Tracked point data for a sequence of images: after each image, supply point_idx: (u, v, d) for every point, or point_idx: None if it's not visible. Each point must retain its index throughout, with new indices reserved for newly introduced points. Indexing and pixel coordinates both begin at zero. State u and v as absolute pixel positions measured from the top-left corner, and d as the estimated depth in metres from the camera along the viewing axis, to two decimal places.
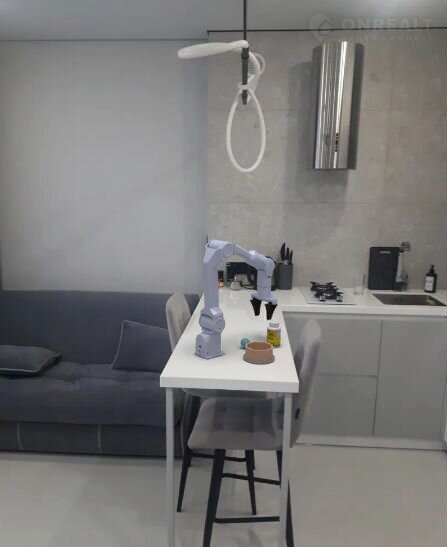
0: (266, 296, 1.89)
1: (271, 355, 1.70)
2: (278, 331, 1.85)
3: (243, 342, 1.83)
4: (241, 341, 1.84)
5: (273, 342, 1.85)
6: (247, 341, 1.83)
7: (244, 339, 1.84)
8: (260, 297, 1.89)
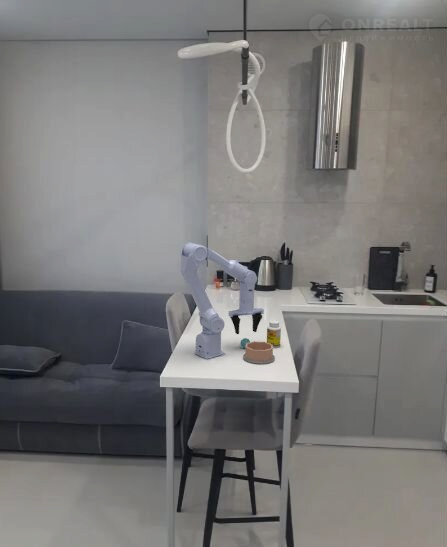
0: (239, 308, 1.82)
1: (271, 355, 1.70)
2: (278, 331, 1.85)
3: (243, 342, 1.83)
4: (241, 341, 1.84)
5: (273, 342, 1.85)
6: (247, 341, 1.83)
7: (244, 339, 1.84)
8: None
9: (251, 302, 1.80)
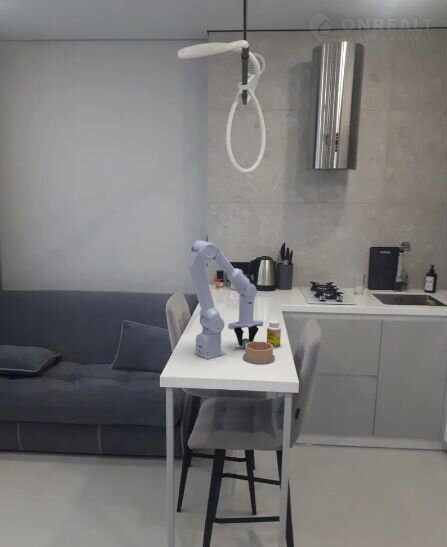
0: (239, 321, 1.83)
1: (271, 355, 1.70)
2: (278, 331, 1.85)
3: (243, 342, 1.83)
4: None
5: (273, 342, 1.85)
6: (247, 341, 1.83)
7: (244, 339, 1.84)
8: None
9: (251, 315, 1.81)
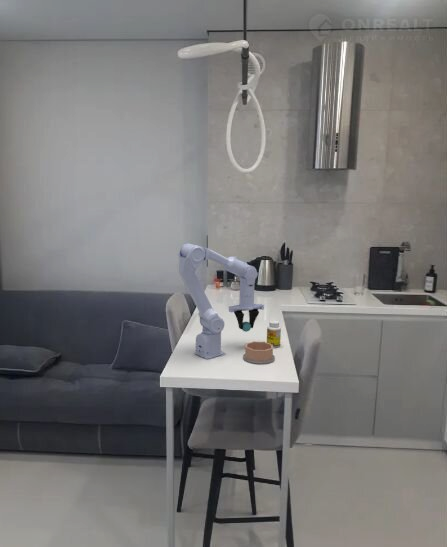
0: (239, 304, 1.82)
1: (271, 355, 1.70)
2: (278, 331, 1.85)
3: (244, 325, 1.82)
4: None
5: (273, 342, 1.85)
6: (248, 324, 1.82)
7: (245, 322, 1.82)
8: None
9: (251, 297, 1.79)
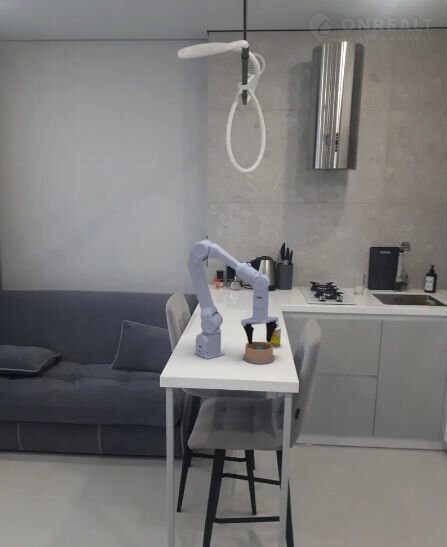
0: (252, 317, 1.71)
1: (271, 355, 1.70)
2: (278, 331, 1.85)
3: None
4: (254, 349, 1.72)
5: (273, 342, 1.85)
6: (261, 349, 1.72)
7: (258, 347, 1.72)
8: None
9: (265, 310, 1.68)
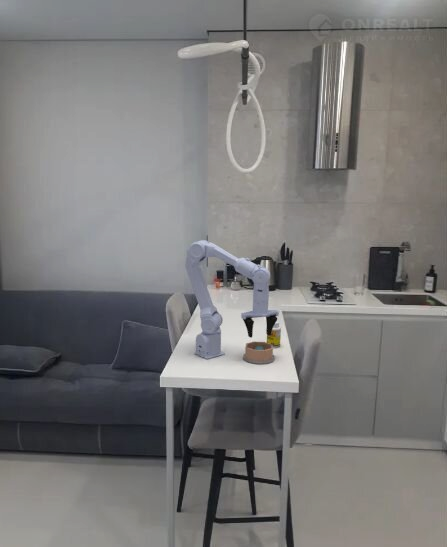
0: None
1: (271, 355, 1.70)
2: (278, 331, 1.85)
3: None
4: (254, 349, 1.72)
5: (273, 342, 1.85)
6: (261, 349, 1.72)
7: (257, 347, 1.72)
8: None
9: (266, 303, 1.68)
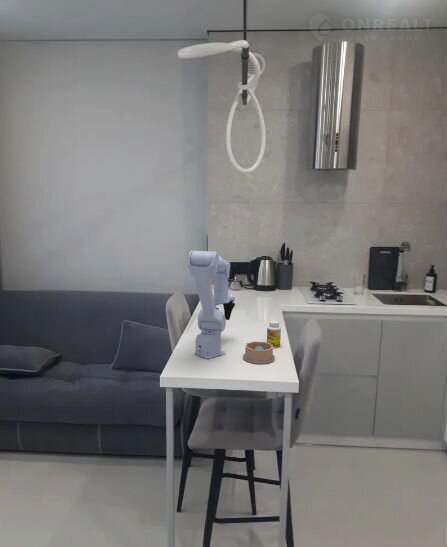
0: (214, 298, 1.85)
1: (271, 355, 1.70)
2: (278, 331, 1.85)
3: None
4: (254, 349, 1.72)
5: (273, 342, 1.85)
6: (261, 349, 1.71)
7: (257, 347, 1.72)
8: None
9: (227, 291, 1.85)
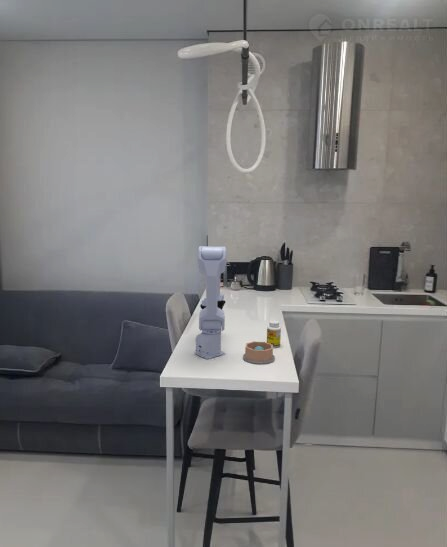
0: None
1: (271, 355, 1.70)
2: (278, 331, 1.85)
3: None
4: (254, 349, 1.72)
5: (273, 342, 1.85)
6: (261, 349, 1.71)
7: (257, 347, 1.72)
8: None
9: (219, 289, 1.89)
